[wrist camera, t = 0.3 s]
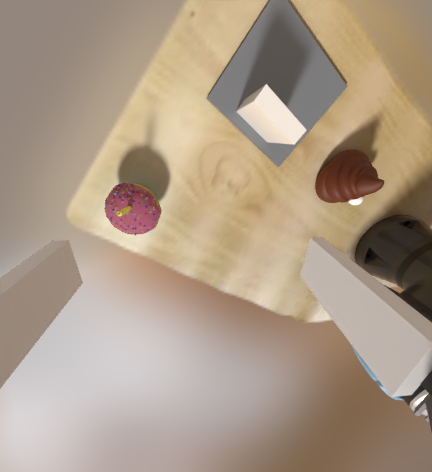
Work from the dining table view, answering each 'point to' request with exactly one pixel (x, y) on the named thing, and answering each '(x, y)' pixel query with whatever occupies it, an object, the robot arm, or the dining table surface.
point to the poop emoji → (348, 178)
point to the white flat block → (270, 117)
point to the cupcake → (132, 208)
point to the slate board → (278, 75)
